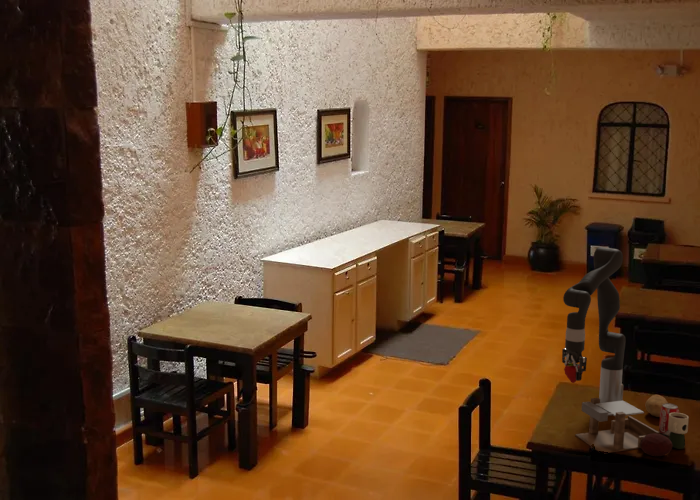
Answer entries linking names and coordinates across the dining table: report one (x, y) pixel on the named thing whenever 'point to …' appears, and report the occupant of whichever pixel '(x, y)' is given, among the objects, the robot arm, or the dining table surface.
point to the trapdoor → (608, 409)
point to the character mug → (678, 429)
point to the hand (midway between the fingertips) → (573, 377)
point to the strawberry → (571, 372)
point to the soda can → (666, 417)
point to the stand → (616, 433)
